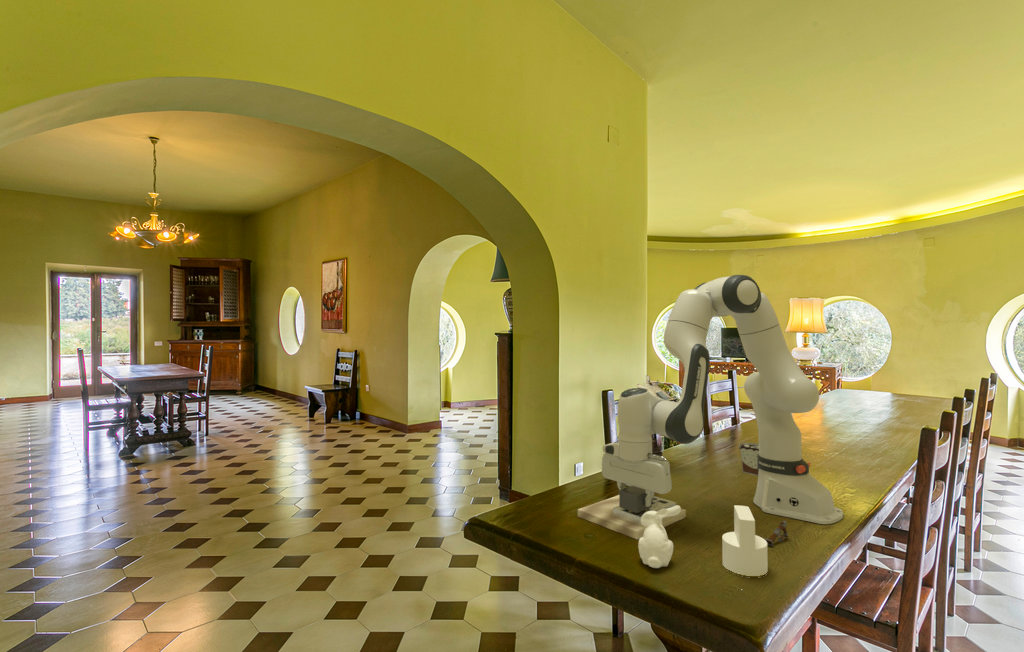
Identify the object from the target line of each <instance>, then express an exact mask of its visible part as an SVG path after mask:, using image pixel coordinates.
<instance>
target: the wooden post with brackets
mask: <svg viewBox="0 0 1024 652" xmlns="http://www.w3.org/2000/svg"><path fill="white" fill-rule="evenodd" d="M778 525H779V526H778V527H776V528H775V529H774V530H773V532H772V534H771V535H770V536H769V537H767V538H766V537H764V538H763V539H764V540H766V542H767V546H769V547H772V548H774V543H775V540H776V539H777V541H778V543H781V542H784V541H785V540H786V538H789V532H788V530H787V527H786V526H787V525H788V524H787V521H786V520H781V521H780V523H779V524H778ZM782 532H783V534H781V533H782Z"/></svg>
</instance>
